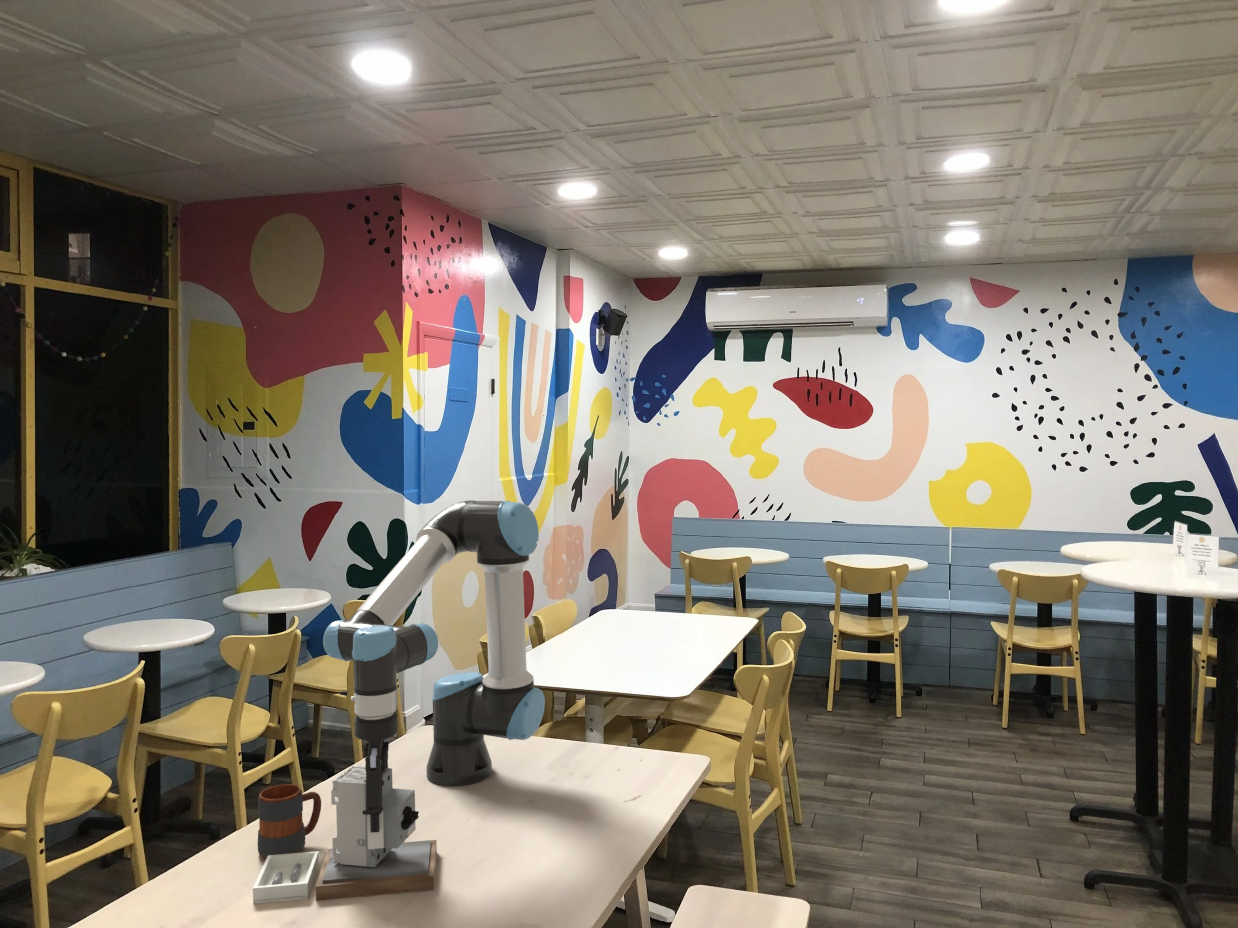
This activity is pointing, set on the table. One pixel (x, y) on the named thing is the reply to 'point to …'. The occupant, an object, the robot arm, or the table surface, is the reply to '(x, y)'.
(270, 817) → the mug
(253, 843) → the table surface
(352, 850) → the circuit breaker
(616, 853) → the table surface
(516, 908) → the table surface
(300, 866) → the tray
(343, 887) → the framed panel
